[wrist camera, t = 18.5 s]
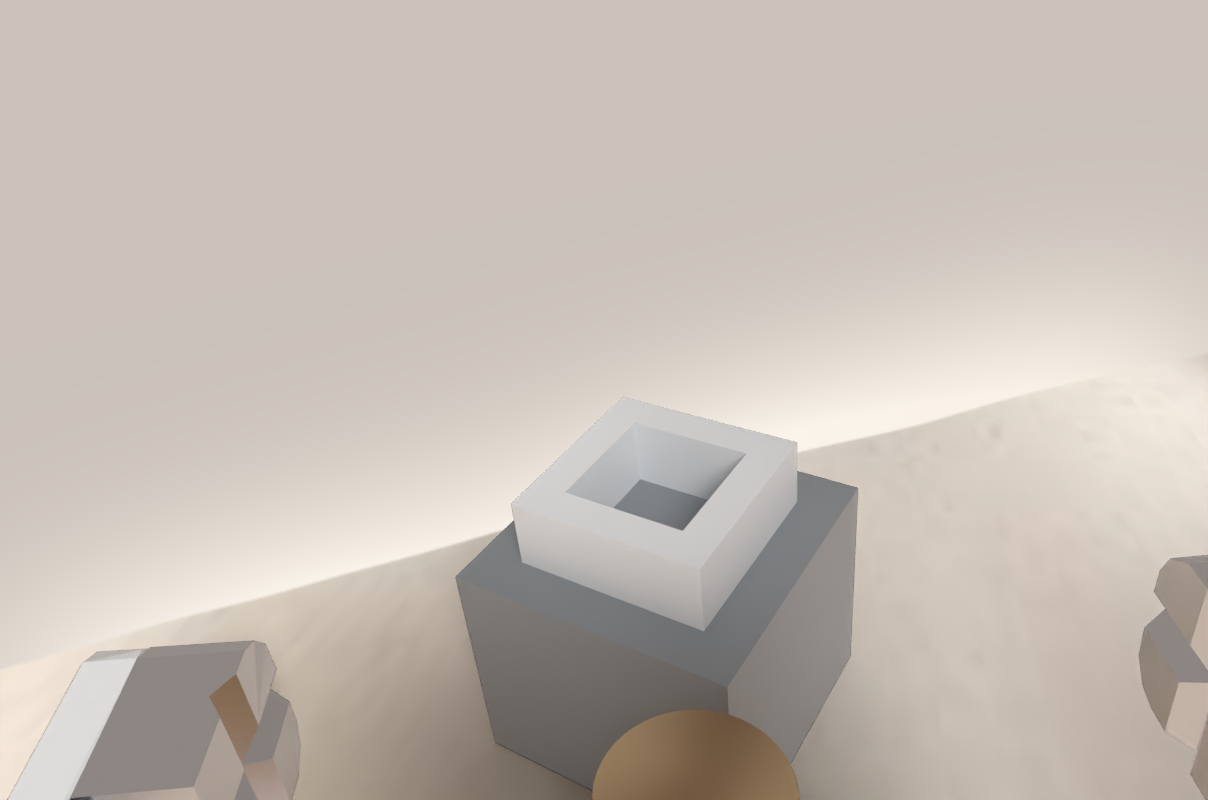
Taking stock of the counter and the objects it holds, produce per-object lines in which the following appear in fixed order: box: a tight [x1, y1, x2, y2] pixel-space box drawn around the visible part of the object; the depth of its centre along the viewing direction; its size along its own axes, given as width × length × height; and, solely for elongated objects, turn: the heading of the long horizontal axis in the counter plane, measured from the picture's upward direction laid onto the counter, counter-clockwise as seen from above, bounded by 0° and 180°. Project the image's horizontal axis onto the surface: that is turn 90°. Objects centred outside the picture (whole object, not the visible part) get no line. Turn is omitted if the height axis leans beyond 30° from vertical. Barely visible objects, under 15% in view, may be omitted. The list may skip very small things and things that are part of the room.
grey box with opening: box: [456, 397, 858, 791], centre depth 43 cm, size 12×12×13 cm
